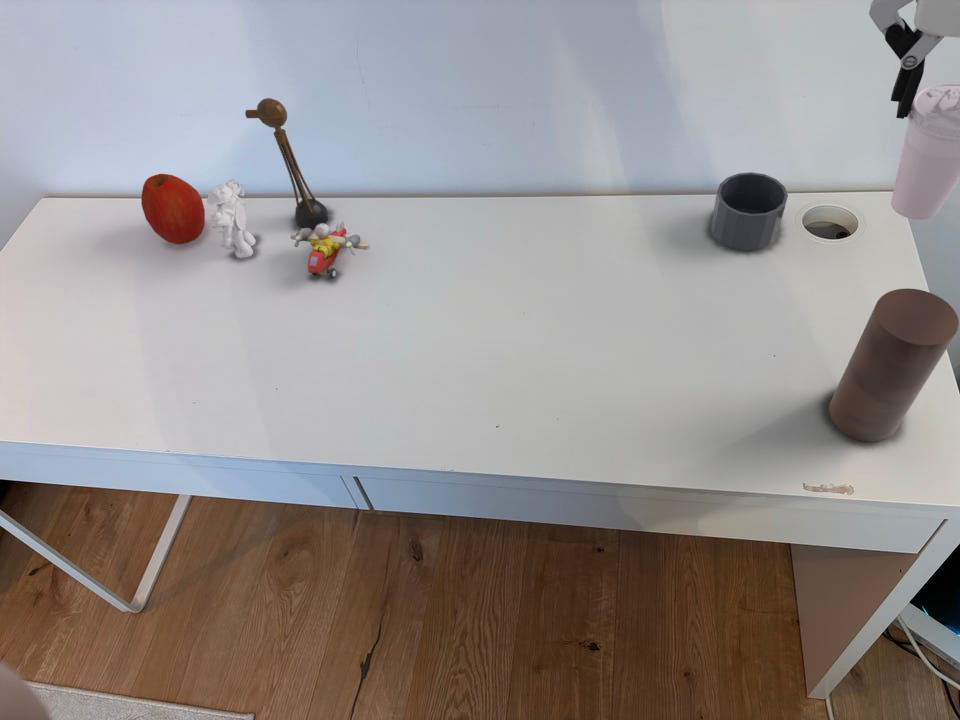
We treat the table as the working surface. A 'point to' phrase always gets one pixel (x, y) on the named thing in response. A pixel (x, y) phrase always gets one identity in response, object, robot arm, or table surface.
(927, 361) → the stand
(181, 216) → the red oval fruit
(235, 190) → the hat wearing toy figure
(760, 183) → the grey cup holder
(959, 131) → the smoothie
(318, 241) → the toy airplane
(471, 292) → the table surface
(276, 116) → the wooden tabletop sculpture
